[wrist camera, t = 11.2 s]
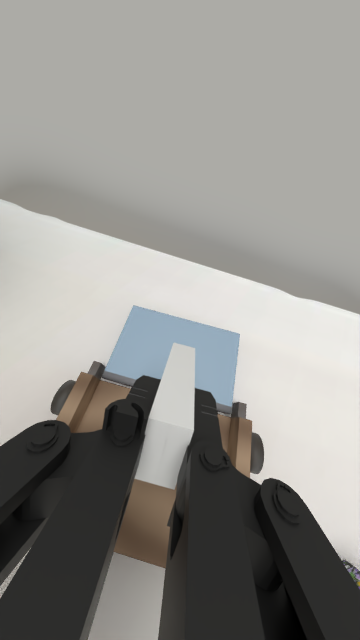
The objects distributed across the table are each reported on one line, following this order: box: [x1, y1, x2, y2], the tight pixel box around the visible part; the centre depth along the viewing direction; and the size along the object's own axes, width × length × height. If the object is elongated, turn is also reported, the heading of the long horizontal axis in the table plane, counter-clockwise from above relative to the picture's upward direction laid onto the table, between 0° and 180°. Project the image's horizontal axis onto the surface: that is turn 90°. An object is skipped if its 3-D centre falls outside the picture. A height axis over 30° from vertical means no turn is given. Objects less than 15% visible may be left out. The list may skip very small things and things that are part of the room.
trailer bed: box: [51, 361, 264, 568], centre depth 20 cm, size 16×24×4 cm, turn 76°
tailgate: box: [102, 305, 240, 414], centre depth 27 cm, size 1×18×12 cm
